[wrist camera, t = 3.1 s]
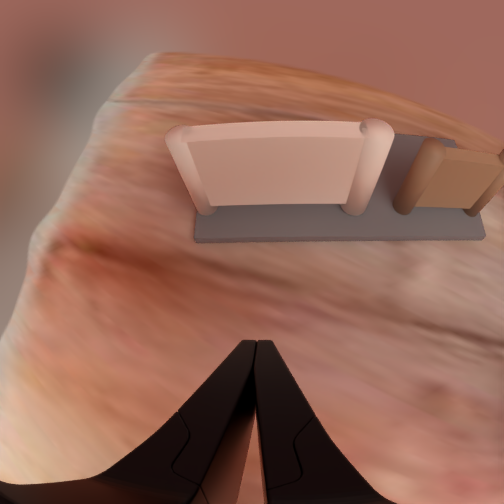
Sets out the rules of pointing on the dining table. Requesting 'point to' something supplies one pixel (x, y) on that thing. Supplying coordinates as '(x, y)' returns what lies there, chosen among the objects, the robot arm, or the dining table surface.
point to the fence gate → (281, 162)
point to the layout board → (380, 202)
